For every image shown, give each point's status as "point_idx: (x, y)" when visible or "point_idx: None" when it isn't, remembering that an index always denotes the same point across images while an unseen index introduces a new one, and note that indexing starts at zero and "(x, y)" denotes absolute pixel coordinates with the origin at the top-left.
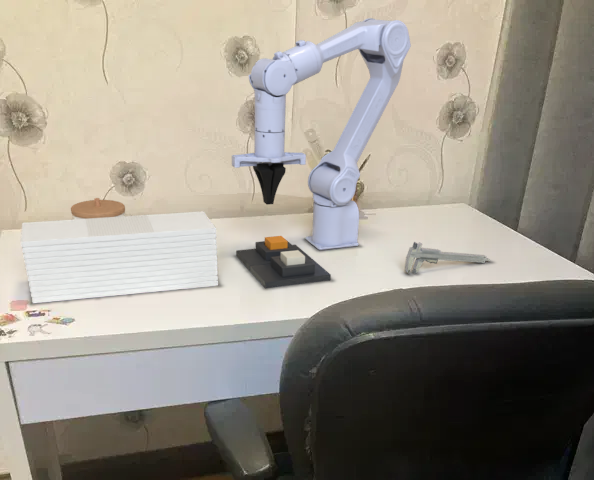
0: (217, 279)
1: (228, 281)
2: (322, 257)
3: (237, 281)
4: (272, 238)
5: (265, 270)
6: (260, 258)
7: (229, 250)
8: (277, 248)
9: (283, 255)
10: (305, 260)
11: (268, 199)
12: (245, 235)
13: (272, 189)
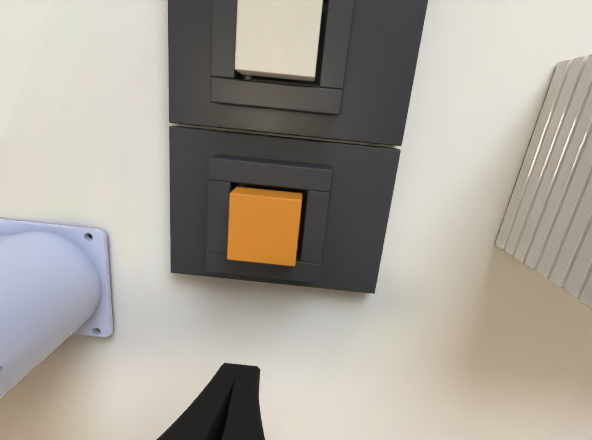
0: (576, 58)
1: (503, 90)
2: (118, 171)
3: (477, 77)
4: (273, 241)
5: (376, 77)
6: (336, 196)
7: (366, 334)
8: (275, 191)
9: (318, 39)
10: (230, 15)
11: (249, 381)
12: (268, 420)
13: (211, 424)
